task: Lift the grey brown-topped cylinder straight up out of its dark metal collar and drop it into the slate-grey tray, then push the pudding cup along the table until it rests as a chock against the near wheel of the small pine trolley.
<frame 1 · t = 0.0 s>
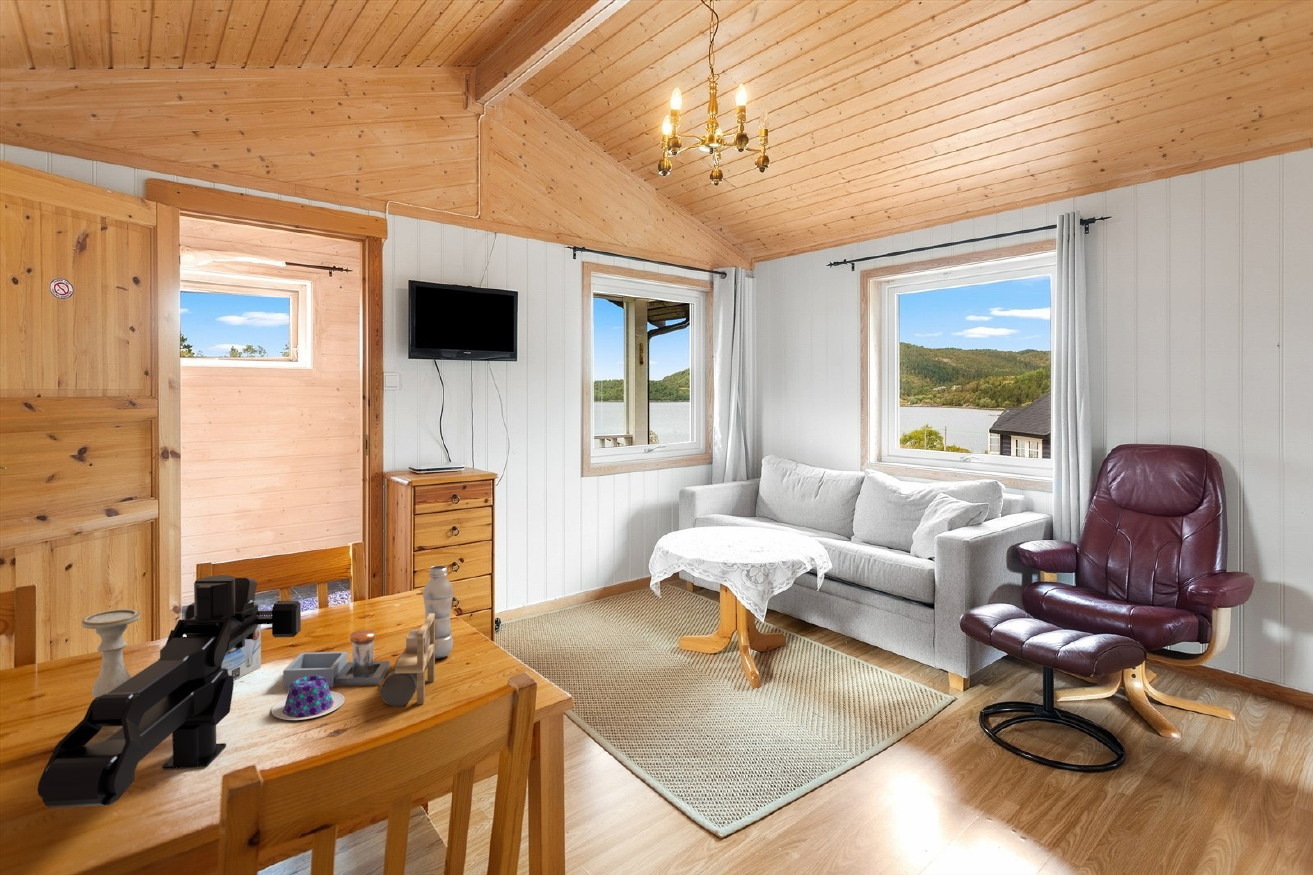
hand: (264, 605, 132), 17 cm above the table, tool horizontal, fingers open, 9 cm apart
grey brown-topped cylinder: (363, 655, 139), in the collar
light bulb box: (228, 676, 139), on the table
tray: (316, 678, 138), on the table
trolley: (410, 691, 133), on the table
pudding: (308, 709, 126), on the table
candle holder: (114, 735, 114), on the table
plastic bottle: (437, 657, 151), on the table
collar: (363, 676, 140), on the table
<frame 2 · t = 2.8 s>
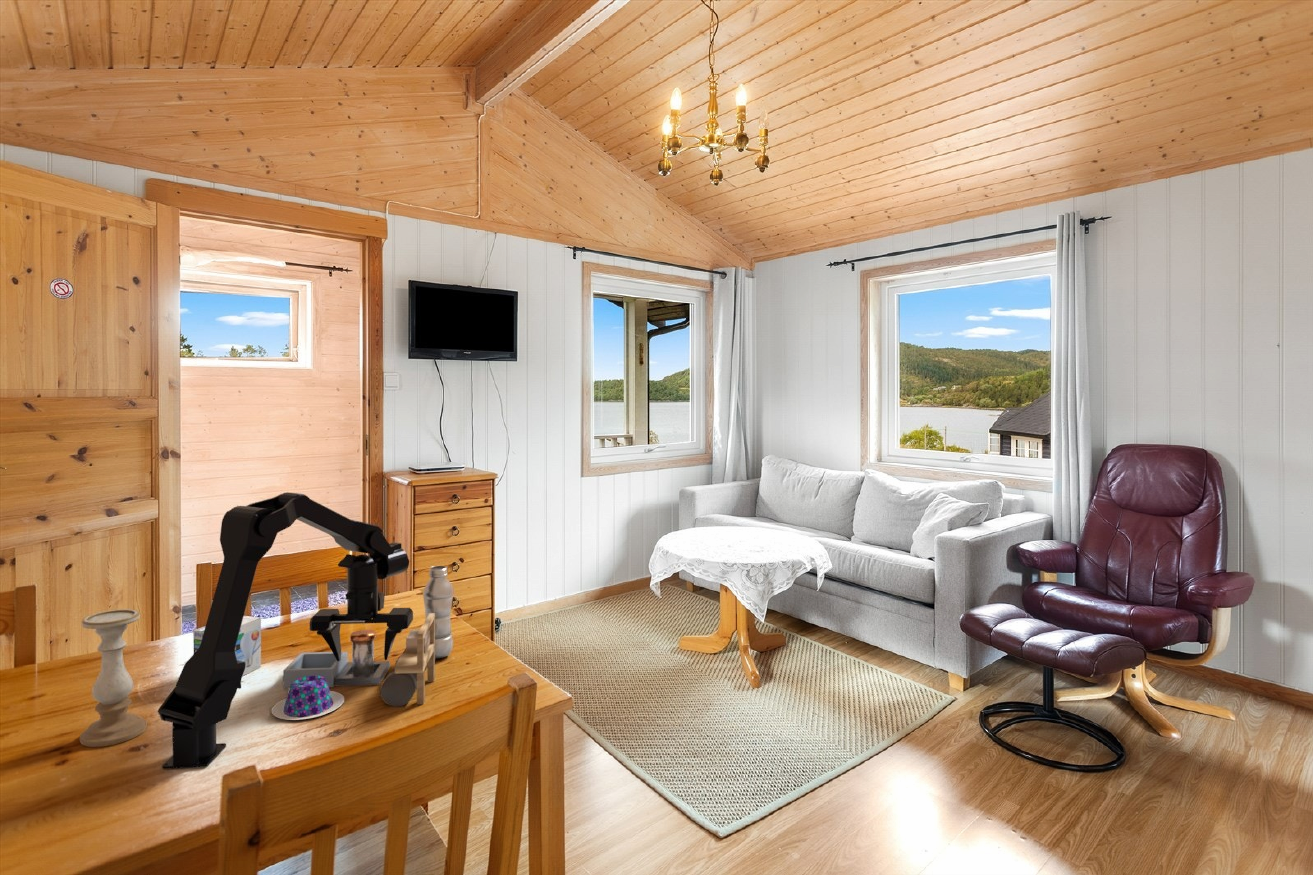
hand: (362, 660, 139), 4 cm above the table, tool pointing down, fingers open, 9 cm apart
nothing on the table moved.
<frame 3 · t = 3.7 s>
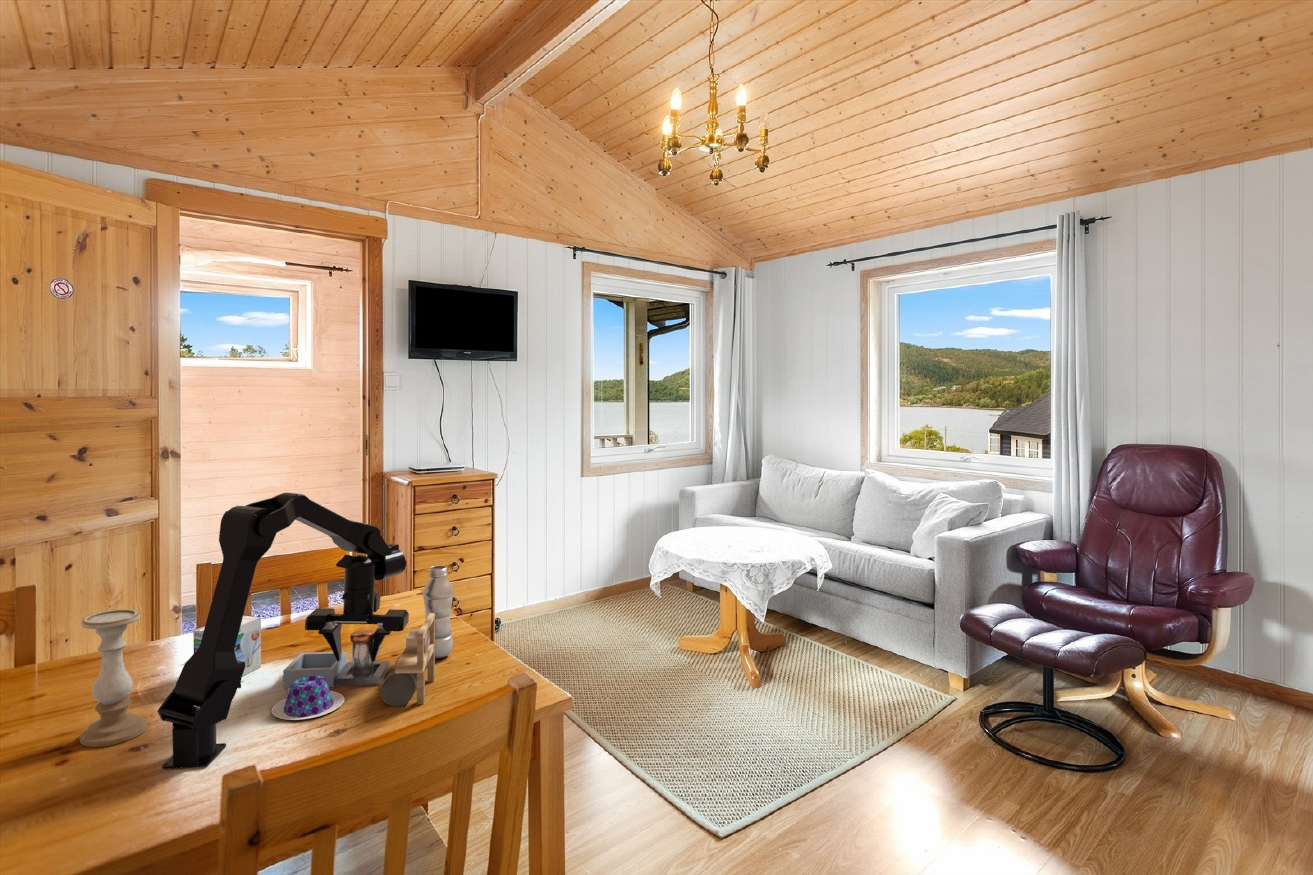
hand: (356, 660, 139), 3 cm above the table, tool pointing down, fingers open, 6 cm apart
grey brown-topped cylinder: (363, 655, 139), in the collar, touching gripper
everything else where it was.
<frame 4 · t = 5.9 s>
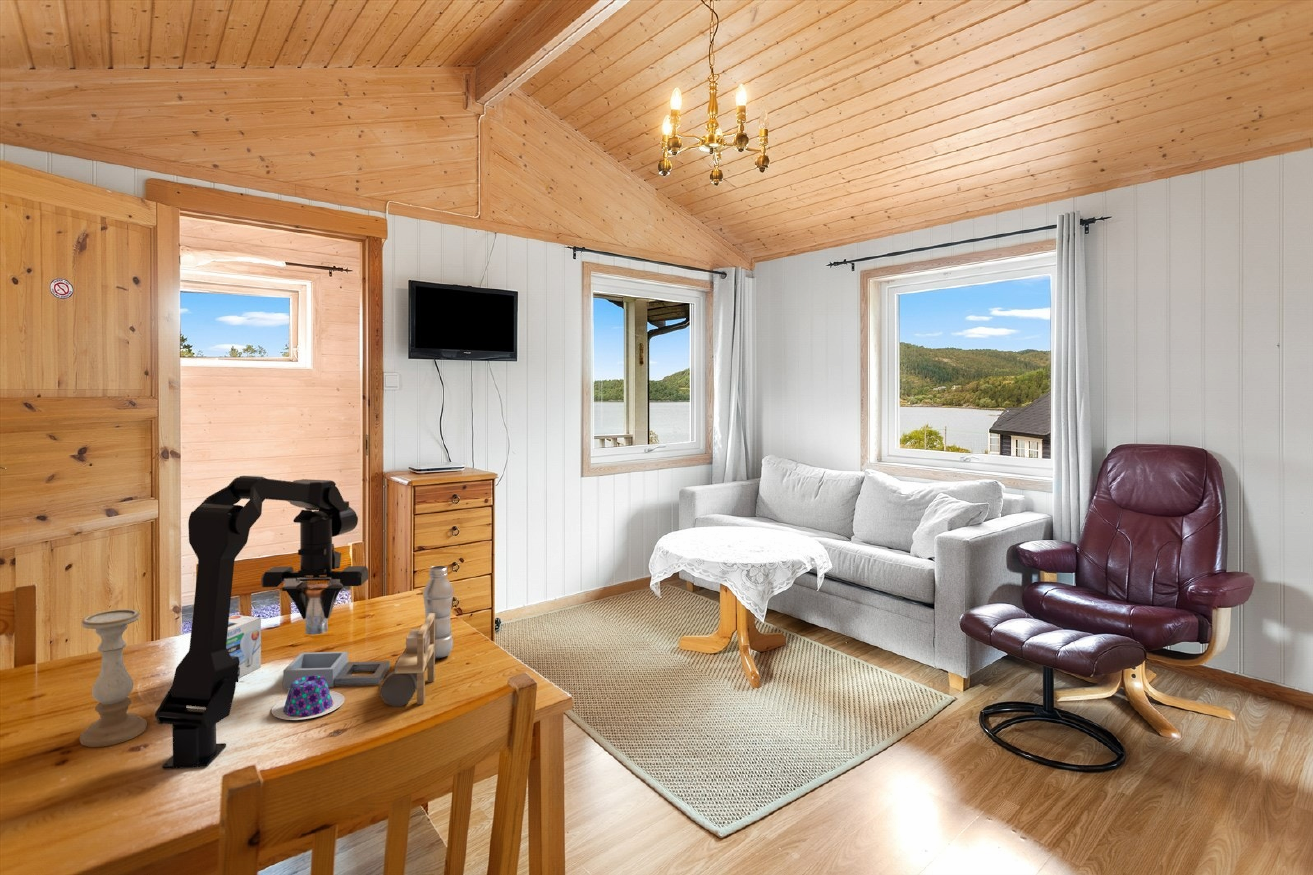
hand: (316, 618, 138), 12 cm above the table, tool pointing down, fingers closed on grey brown-topped cylinder, 4 cm apart
grey brown-topped cylinder: (316, 609, 138), point 14 cm above the table, touching gripper
everything else where it was.
when the fingers open (5 cm above the table, at t = 7.5 s): grey brown-topped cylinder drops 2 cm, resting on tray.
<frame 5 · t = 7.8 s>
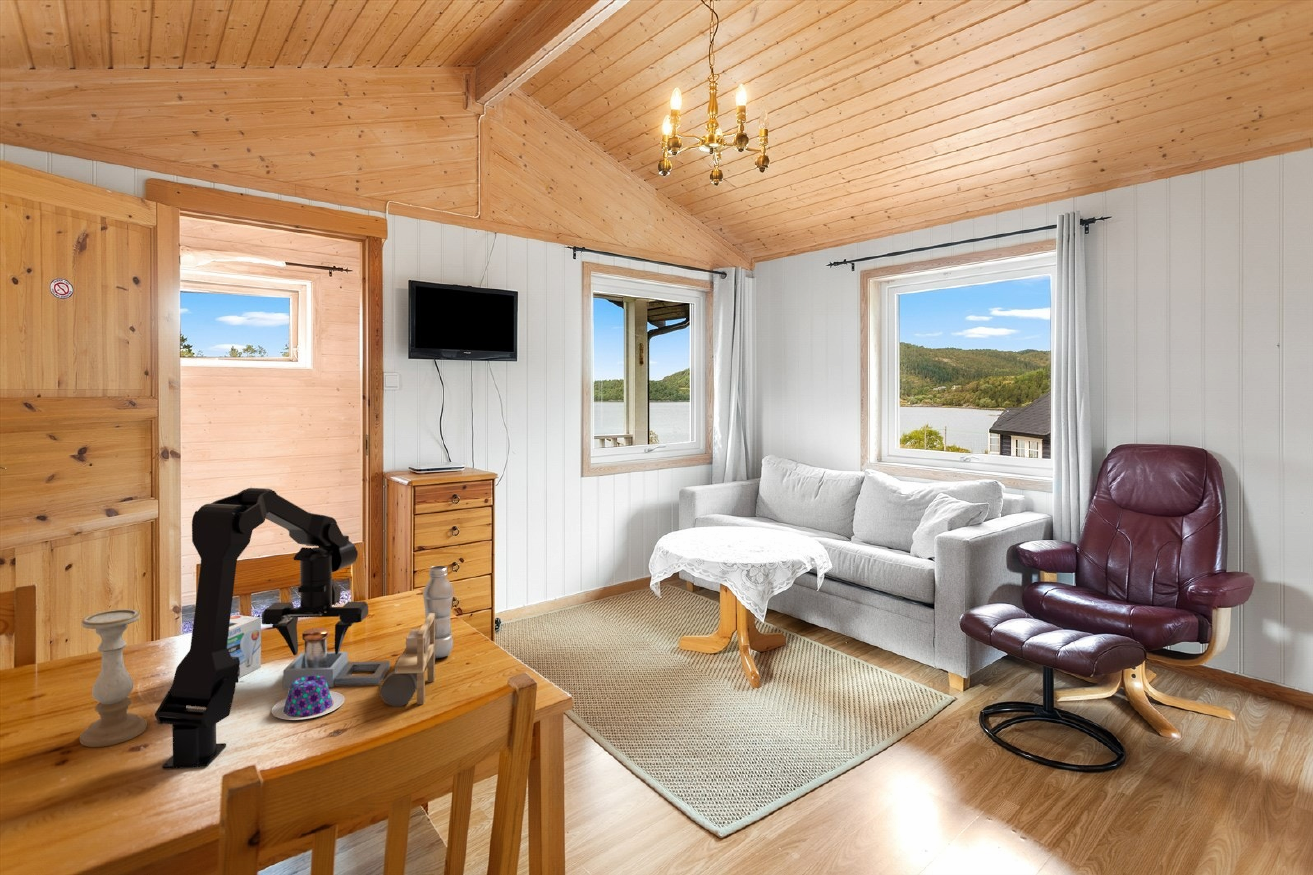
hand: (316, 654, 138), 5 cm above the table, tool pointing down, fingers open, 8 cm apart
grey brown-topped cylinder: (316, 653, 138), in the tray, point 5 cm above the table
everything else where it was.
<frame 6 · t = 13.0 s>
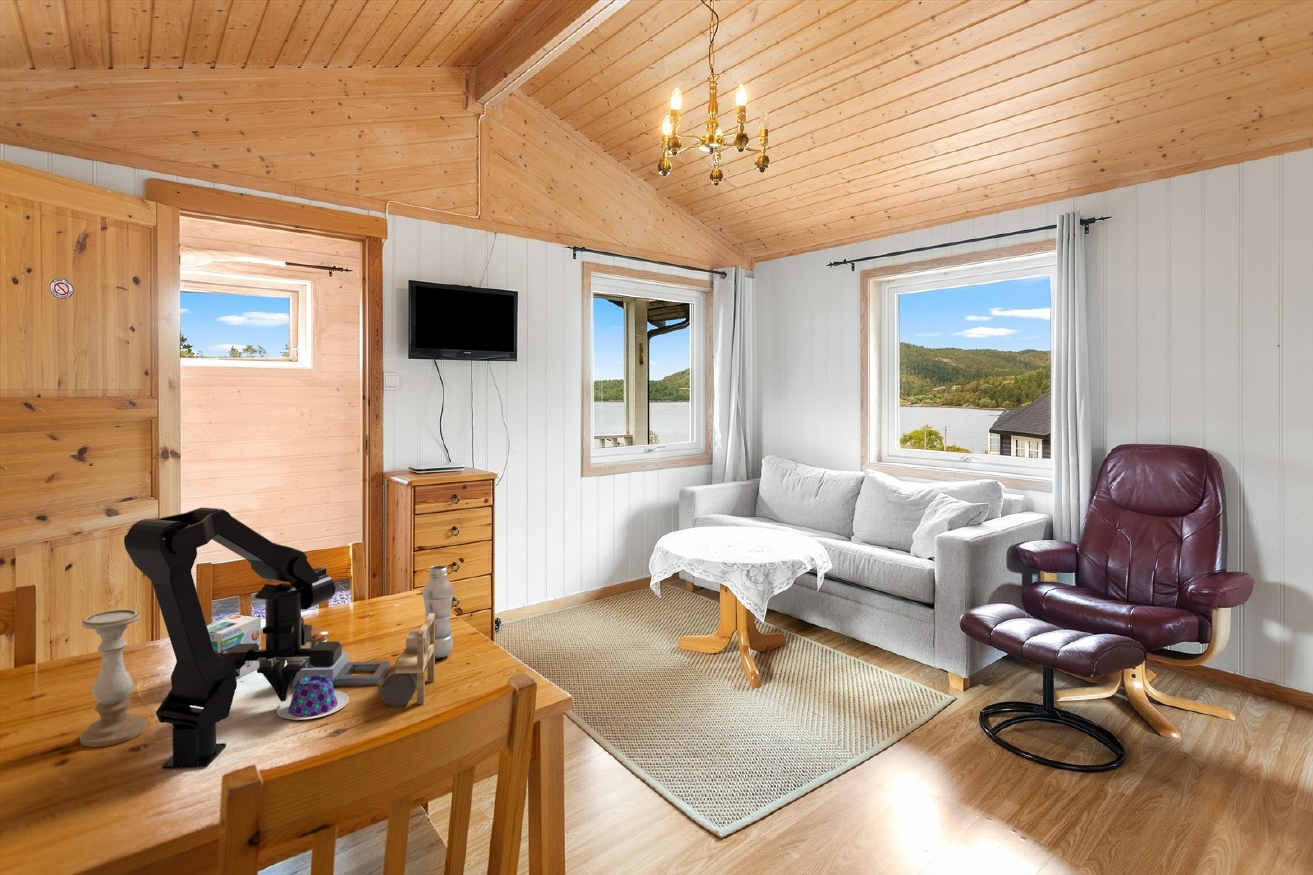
hand: (284, 700, 125), 1 cm above the table, tool pointing down, fingers closed
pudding: (313, 709, 126), on the table, touching gripper
everything else where it was.
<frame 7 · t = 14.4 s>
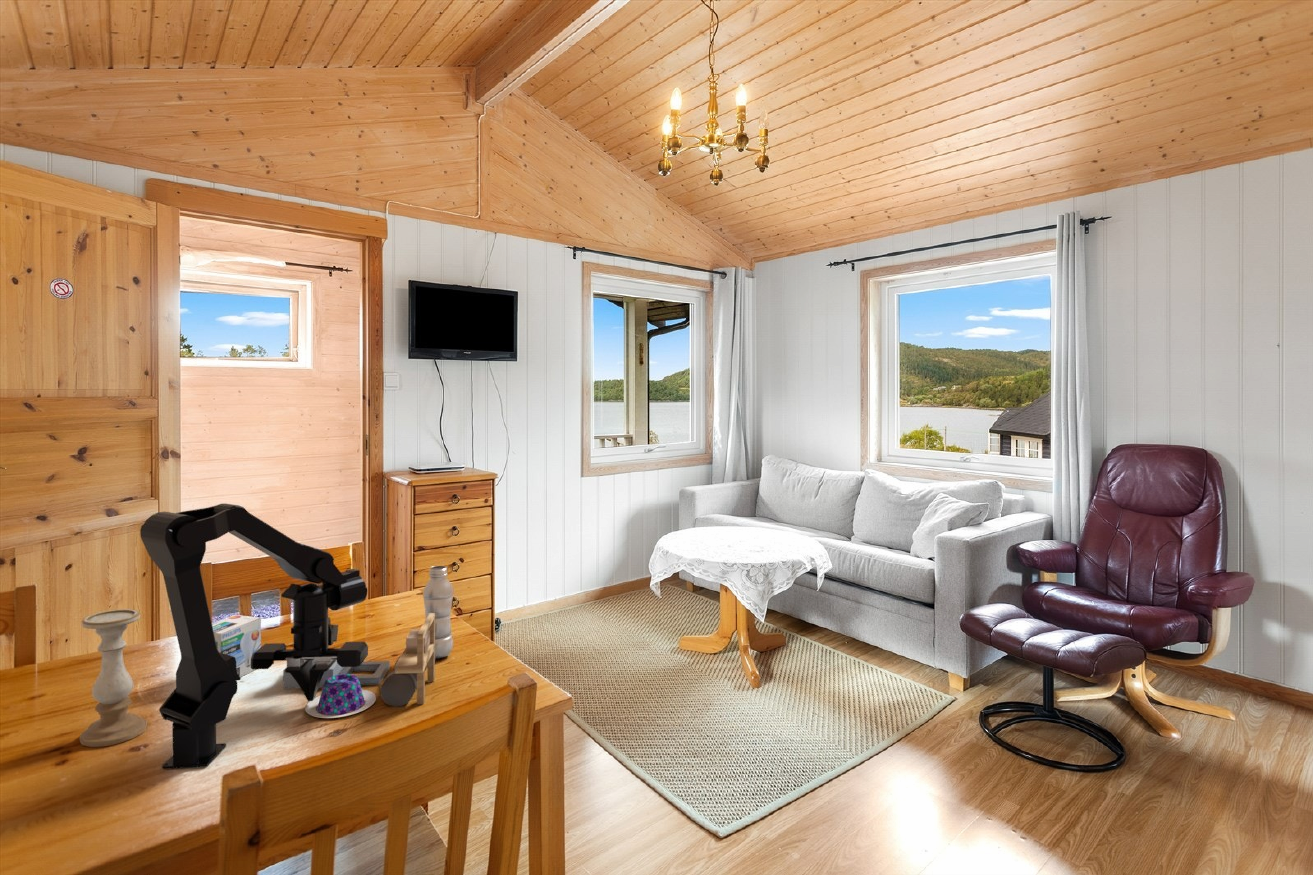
hand: (311, 700, 126), 1 cm above the table, tool pointing down, fingers closed
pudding: (341, 707, 127), on the table
everything else where it was.
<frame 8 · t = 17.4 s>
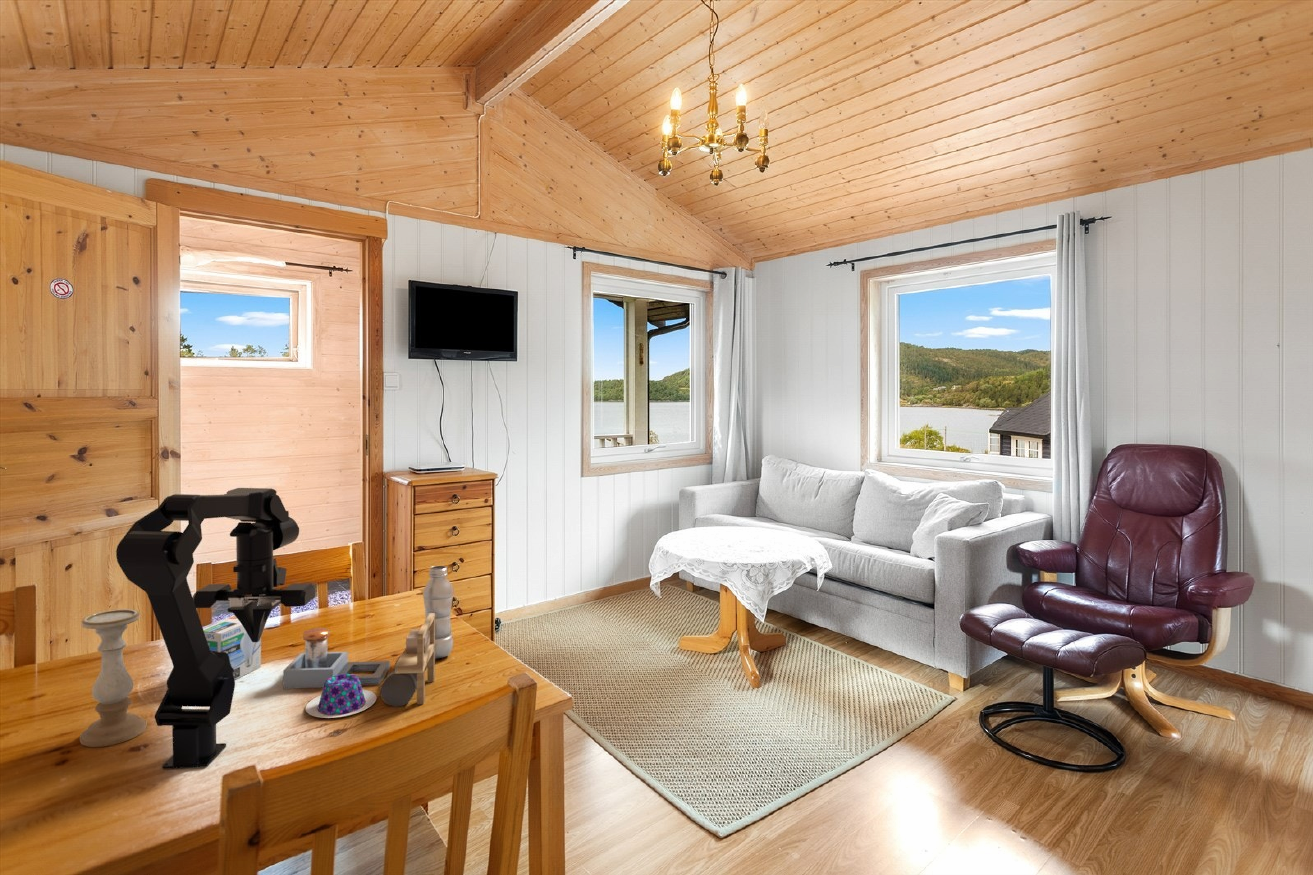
hand: (256, 641, 124), 12 cm above the table, tool pointing down, fingers closed
nothing on the table moved.
at the end: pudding inside the target area (1.8 cm from its centre), on the table; grey brown-topped cylinder inside the target area on the tray (0.0 cm from its centre), point 5.1 cm above the tray's base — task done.
